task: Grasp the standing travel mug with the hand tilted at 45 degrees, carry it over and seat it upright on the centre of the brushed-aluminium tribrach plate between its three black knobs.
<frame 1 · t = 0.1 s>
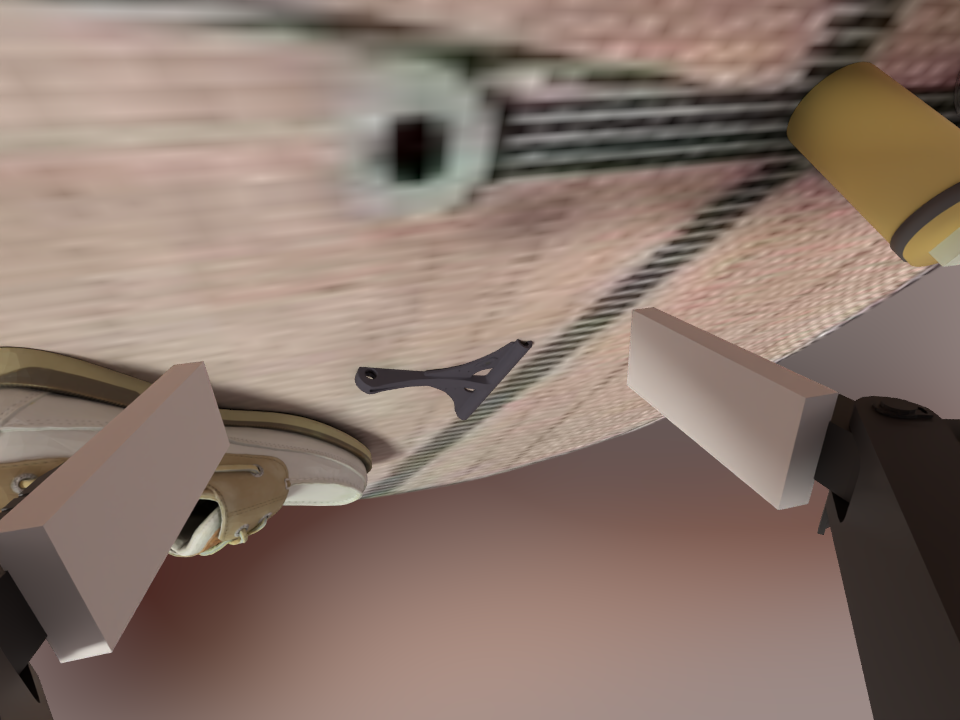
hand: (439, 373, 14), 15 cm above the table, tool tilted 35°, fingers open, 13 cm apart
boat shoe: (217, 418, 43), on the table
travel mug: (830, 106, 27), on the table
bracket: (431, 368, 45), on the table
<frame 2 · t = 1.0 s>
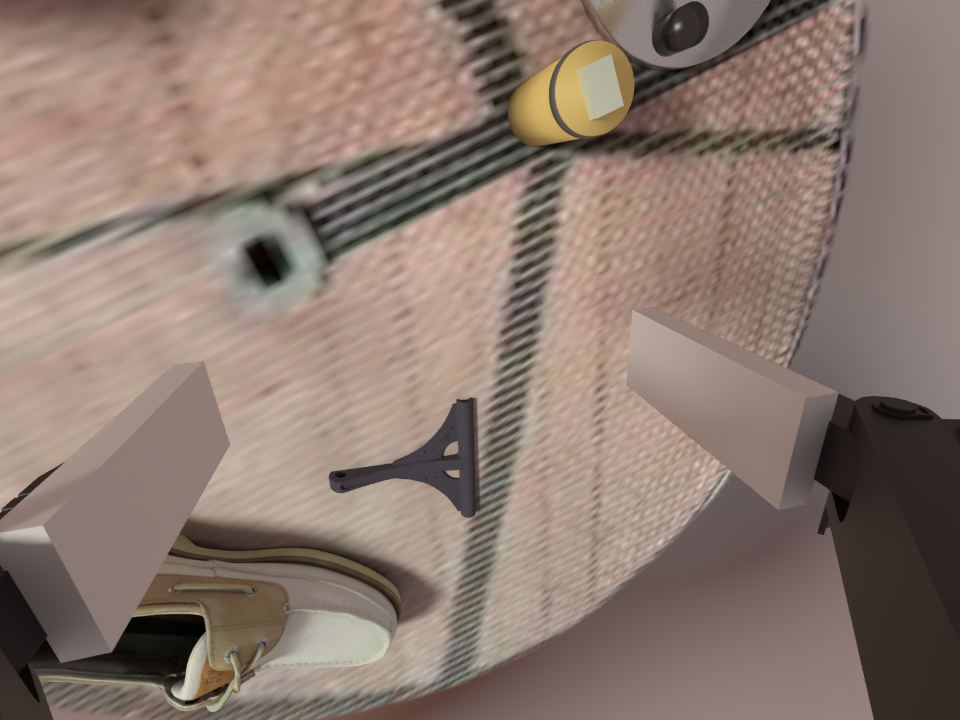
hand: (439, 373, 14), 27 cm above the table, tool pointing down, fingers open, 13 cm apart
boat shoe: (240, 570, 48), on the table
travel mug: (536, 112, 37), on the table
bracket: (404, 461, 48), on the table
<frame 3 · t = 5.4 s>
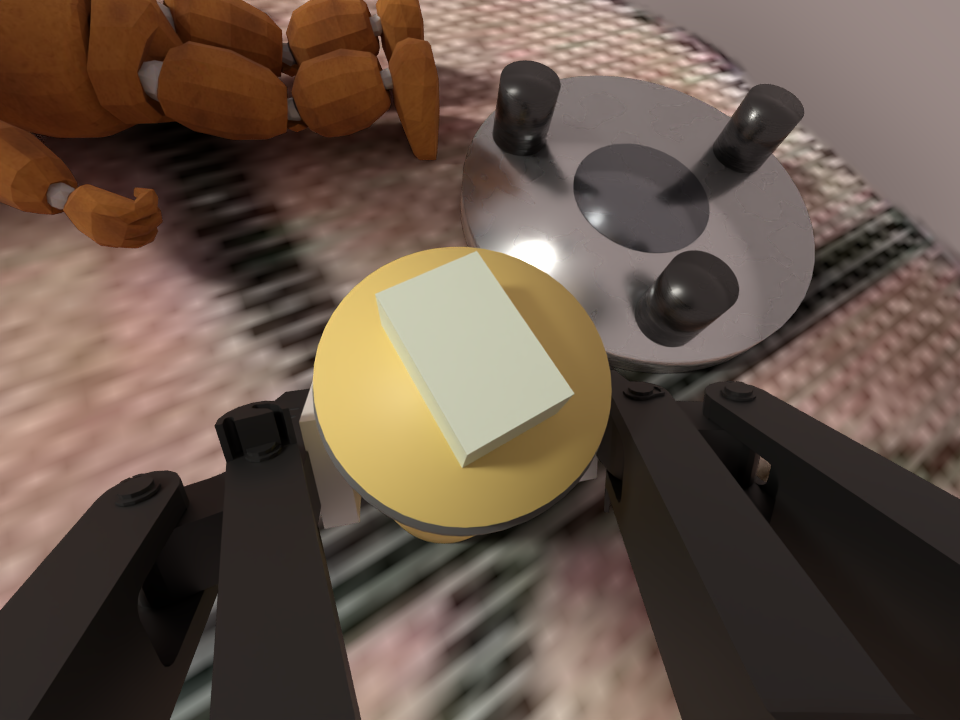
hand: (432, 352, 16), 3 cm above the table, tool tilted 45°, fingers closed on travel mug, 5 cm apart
toy: (143, 134, 23), on the table
travel mug: (445, 474, 18), on the table, touching gripper
tribrach: (629, 216, 24), on the table
when the fingers open (6 cm above the table, at t = 10.0 s): travel mug drops 1 cm, resting on tribrach.
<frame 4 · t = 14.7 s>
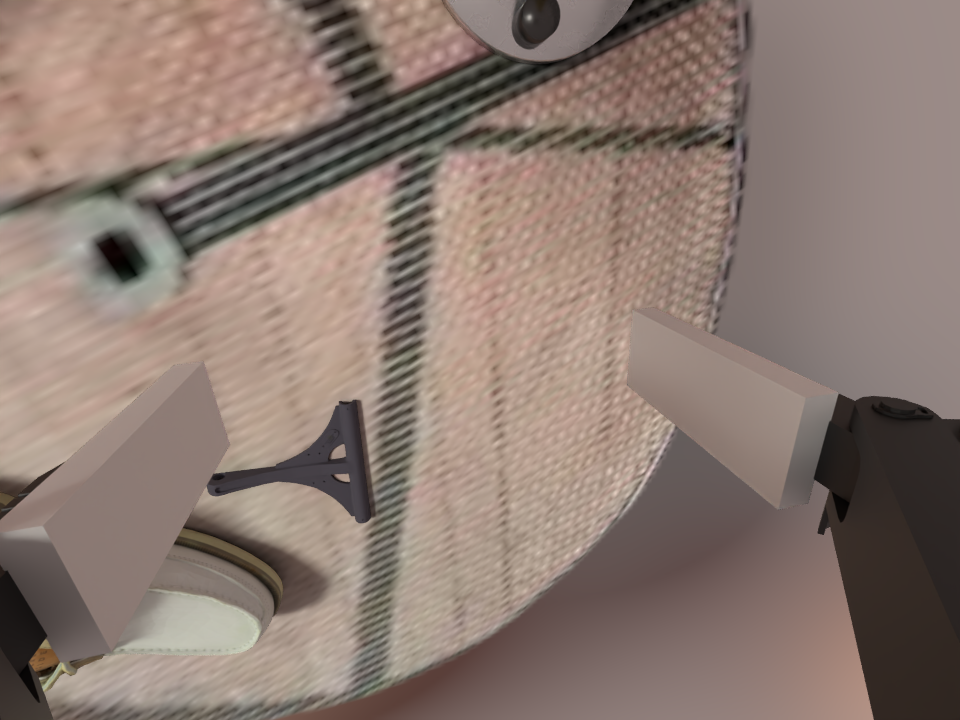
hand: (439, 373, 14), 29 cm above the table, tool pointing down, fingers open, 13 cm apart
boat shoe: (105, 547, 45), on the table
bracket: (290, 464, 47), on the table
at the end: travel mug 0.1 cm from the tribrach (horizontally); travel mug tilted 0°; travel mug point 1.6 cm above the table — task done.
